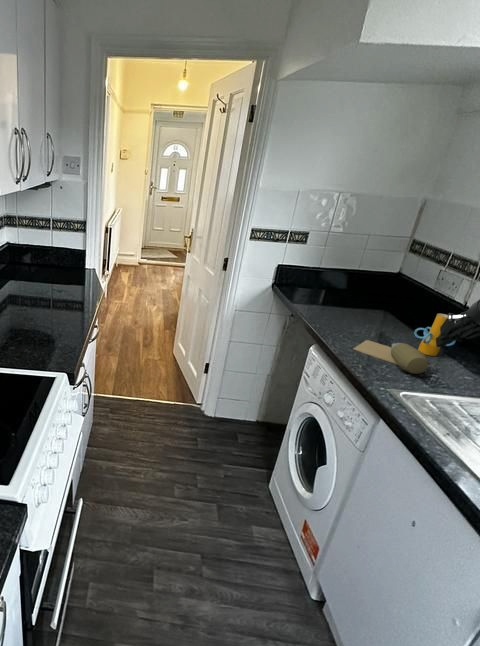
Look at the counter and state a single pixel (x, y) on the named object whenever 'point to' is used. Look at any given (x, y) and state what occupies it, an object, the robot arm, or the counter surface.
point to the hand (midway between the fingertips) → (438, 342)
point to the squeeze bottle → (409, 358)
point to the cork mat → (376, 350)
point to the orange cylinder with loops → (432, 336)
